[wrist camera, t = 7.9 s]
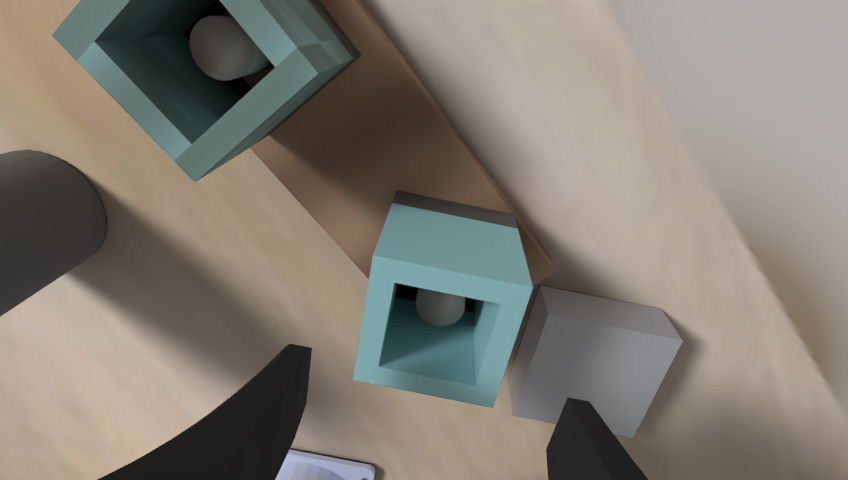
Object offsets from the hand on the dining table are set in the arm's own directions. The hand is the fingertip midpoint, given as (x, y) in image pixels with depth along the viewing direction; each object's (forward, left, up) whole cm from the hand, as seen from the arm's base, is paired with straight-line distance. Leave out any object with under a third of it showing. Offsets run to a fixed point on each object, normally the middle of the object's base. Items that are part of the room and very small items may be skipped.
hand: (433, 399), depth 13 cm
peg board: (+4, +4, -10) cm, 12 cm away
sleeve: (0, 0, -9) cm, 9 cm away
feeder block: (-4, -8, -10) cm, 14 cm away
